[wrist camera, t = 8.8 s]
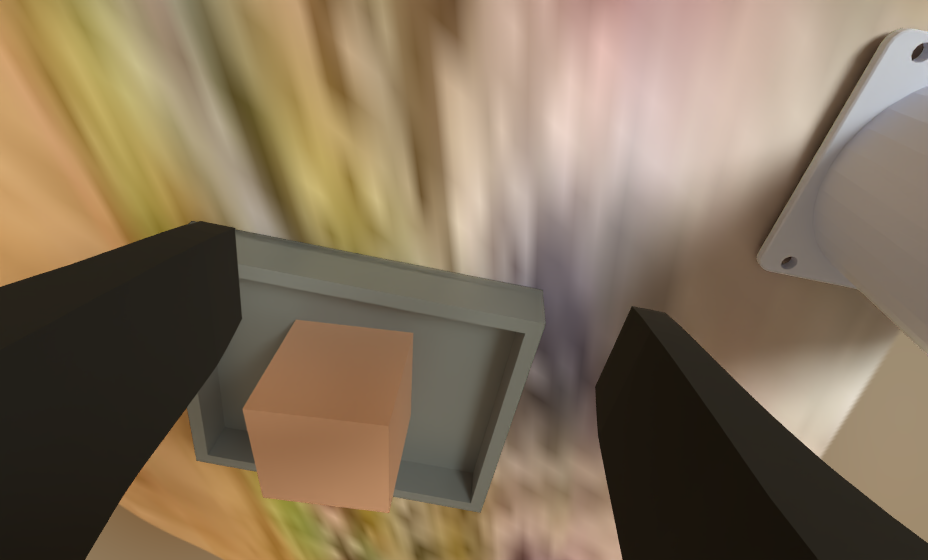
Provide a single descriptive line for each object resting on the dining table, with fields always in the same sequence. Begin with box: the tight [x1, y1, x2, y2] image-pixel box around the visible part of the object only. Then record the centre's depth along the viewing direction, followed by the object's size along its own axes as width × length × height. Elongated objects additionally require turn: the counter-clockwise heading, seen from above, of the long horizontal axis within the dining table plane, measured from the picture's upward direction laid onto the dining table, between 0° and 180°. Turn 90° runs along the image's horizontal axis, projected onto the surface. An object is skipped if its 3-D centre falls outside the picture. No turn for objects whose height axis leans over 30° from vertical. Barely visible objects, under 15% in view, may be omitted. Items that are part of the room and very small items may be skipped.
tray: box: [187, 221, 546, 513], centre depth 22 cm, size 14×12×2 cm
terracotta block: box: [243, 320, 413, 513], centre depth 20 cm, size 5×5×5 cm
